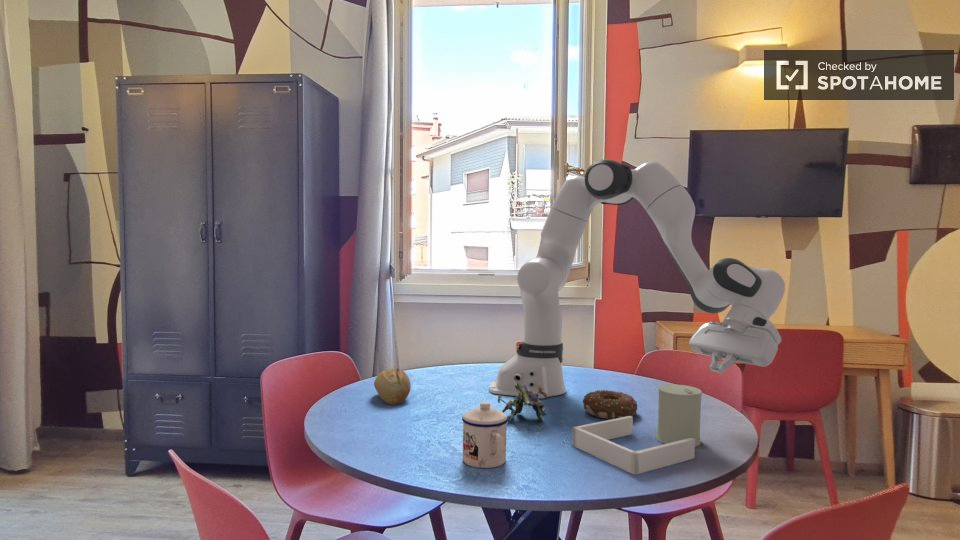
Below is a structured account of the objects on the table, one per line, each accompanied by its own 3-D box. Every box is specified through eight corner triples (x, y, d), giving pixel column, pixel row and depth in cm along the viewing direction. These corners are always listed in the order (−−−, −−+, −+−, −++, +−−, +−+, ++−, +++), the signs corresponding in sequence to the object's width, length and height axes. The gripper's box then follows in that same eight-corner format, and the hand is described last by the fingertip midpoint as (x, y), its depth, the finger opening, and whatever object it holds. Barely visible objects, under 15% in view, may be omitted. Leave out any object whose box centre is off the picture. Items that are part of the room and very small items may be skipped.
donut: (572, 409, 154) (573, 390, 153) (616, 404, 159) (617, 386, 158) (602, 425, 140) (603, 405, 140) (650, 419, 145) (650, 400, 145)
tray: (629, 432, 134) (629, 415, 134) (694, 458, 119) (694, 439, 119) (572, 445, 126) (572, 427, 125) (634, 475, 110) (635, 454, 110)
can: (679, 450, 124) (680, 394, 123) (647, 437, 132) (649, 384, 131) (709, 443, 128) (711, 389, 127) (677, 431, 136) (679, 380, 136)
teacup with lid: (454, 455, 119) (455, 399, 118) (495, 449, 123) (495, 395, 122) (478, 478, 108) (479, 416, 107) (522, 470, 112) (523, 410, 111)
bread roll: (402, 390, 169) (402, 363, 169) (416, 404, 155) (416, 374, 155) (369, 393, 166) (369, 365, 165) (380, 407, 152) (380, 377, 151)
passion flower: (538, 443, 143) (559, 411, 136) (498, 439, 139) (516, 406, 133) (528, 406, 151) (547, 375, 145) (490, 402, 148) (507, 369, 142)
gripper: (700, 312, 148) (673, 354, 143) (778, 322, 130) (749, 371, 126) (711, 328, 150) (685, 370, 146) (788, 341, 133) (761, 388, 128)
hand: (715, 370), depth 135 cm, fingers closed
